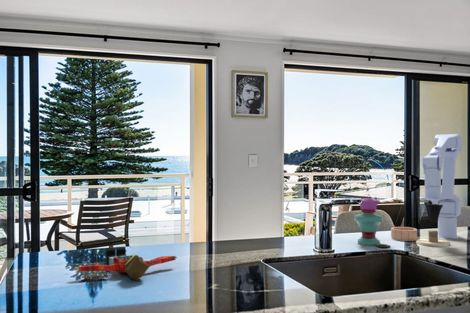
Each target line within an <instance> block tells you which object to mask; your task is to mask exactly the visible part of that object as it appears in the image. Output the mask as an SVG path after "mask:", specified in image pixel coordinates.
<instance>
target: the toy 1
mask: <svg viewBox="0 0 470 313" xmlns="http://www.w3.org/2000/svg"><path fill="white" fill-rule="evenodd" d="M176 259H178V256H176V255H169V256H168V255H163V256H159V257H156V258H153V259H150V260H144V258H143V257H142V256H139V255H137V254H135V253H133V254H132V255H131V254H130V255H128V254H127V250H126V247H125V246H117V247H116V248H115V247H106V248H105V263H106V264H98V263H97V264H96V263H95V264H93V263H90V264H85V265H82V266H81V265H80V266H77V267H74V270H75V271H76V270H77V271H79V272H100V271H101V272H103V271H104V272H105V271H109V272H114V273H115V272H117V273H118V272H119V273H120V274H122V273H126V274H127V275H128V276H129V278H130V279H131V280H133V281H138V280H139V279H140V278H142V277H143V276H144V275H145V273H146V272H147V270H148V269H149V268H150V267H153V266H156V265H160V264H166V263H169V262H172V261H176Z"/></svg>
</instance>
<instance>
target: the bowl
mask: <svg viewBox="0 0 470 313" xmlns="http://www.w3.org/2000/svg"><path fill="white" fill-rule="evenodd" d="M390 237H391V239H392V240H396V241H404V242H405V241H406V242H411V241H412V242H414V241H417V240H418V229H417V228H415V227H411V226H410V227H409V226H393V227H390Z"/></svg>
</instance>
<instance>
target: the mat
mask: <svg viewBox="0 0 470 313" xmlns="http://www.w3.org/2000/svg"><path fill="white" fill-rule="evenodd" d="M415 243H416V245H417V247H422V248H423V247H425V248H430V247H429V246H422V245H419V244H417V240H415ZM443 248H444V249H445V248H446V249H447V248H449V249H453V248H454V247H453V246H452V245H451V244H450V246H448V247H442V249H443Z"/></svg>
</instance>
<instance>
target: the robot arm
mask: <svg viewBox="0 0 470 313" xmlns="http://www.w3.org/2000/svg"><path fill="white" fill-rule="evenodd" d="M462 140H463V139H462V136H461V134H460V133H454V134H453V133H450V134H449V133H448V134H439V133H437V134H435V136H434V141H433V144H434V146H433V147H432V148H431V149H430V151H429V153H428V155H425V156H423V158H422V163H421V164H422V169H423V170H422V171H423V175H424V196H422V197H421V200H427V201H424V202H423V204H424V206H425V208H426V213H427V218H428V220H429V221H430V222H431V223H434V224H435V223H437V232H438V239H441V238H442V239H460V237H459V236H458V228H457V227H458V225H457V224H458V222H457V220H458V217H459V216H461V213H462V204H461V203H462V202H461V199H460V197H459V196H457V195H456V194H455V176H456V175H455V174H456V161H457V160H456V159H457V156H459V155H461V152H462V145H463V144H462V143H463V141H462ZM441 174H442V175H441ZM441 180H442V181H441Z"/></svg>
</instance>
